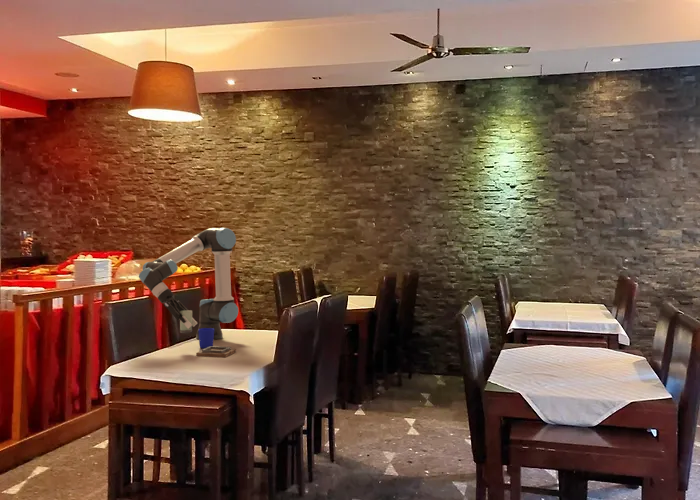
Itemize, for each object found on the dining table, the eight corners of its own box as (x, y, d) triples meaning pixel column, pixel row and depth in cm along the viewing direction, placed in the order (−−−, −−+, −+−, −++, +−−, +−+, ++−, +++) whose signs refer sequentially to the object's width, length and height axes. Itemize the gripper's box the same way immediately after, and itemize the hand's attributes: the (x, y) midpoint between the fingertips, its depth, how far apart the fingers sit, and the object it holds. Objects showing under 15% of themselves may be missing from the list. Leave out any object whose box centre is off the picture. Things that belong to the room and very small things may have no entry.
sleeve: (183, 331, 315) (183, 310, 315) (194, 331, 314) (194, 310, 314) (178, 333, 309) (178, 311, 309) (189, 333, 308) (189, 311, 308)
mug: (218, 345, 332) (218, 327, 332) (211, 349, 320) (211, 330, 320) (203, 345, 333) (203, 326, 333) (196, 348, 321) (196, 330, 321)
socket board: (208, 350, 316) (208, 345, 316) (235, 352, 314) (235, 346, 314) (196, 355, 301) (196, 350, 301) (225, 357, 299) (225, 351, 299)
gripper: (166, 296, 323) (195, 328, 321) (149, 300, 304) (179, 333, 302) (175, 286, 322) (205, 318, 320) (159, 289, 303) (190, 323, 301)
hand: (192, 325), depth 311 cm, fingers closed on sleeve, 6 cm apart
